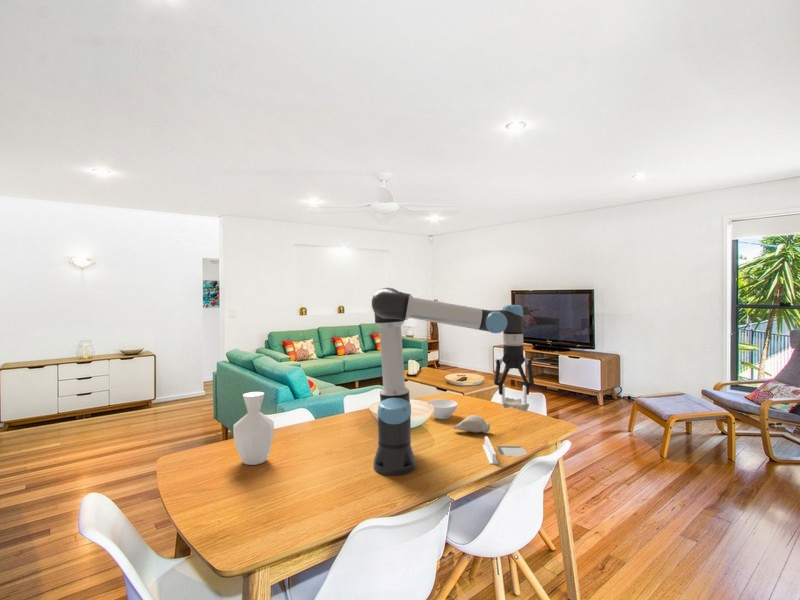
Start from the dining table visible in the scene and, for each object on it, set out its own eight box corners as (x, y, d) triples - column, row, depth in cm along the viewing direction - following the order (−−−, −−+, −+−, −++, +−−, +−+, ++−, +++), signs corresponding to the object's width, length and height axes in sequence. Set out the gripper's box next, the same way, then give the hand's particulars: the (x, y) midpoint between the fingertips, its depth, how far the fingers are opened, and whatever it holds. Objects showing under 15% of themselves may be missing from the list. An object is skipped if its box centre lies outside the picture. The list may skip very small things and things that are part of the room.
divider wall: (490, 464, 143) (490, 453, 143) (482, 446, 161) (482, 436, 161) (498, 464, 143) (498, 453, 143) (489, 446, 161) (489, 436, 161)
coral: (526, 411, 147) (527, 399, 148) (499, 407, 154) (501, 395, 155) (531, 412, 151) (532, 400, 152) (505, 407, 158) (506, 396, 159)
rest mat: (502, 458, 149) (502, 457, 149) (496, 446, 161) (496, 445, 161) (534, 458, 148) (534, 458, 148) (526, 446, 160) (526, 446, 160)
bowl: (441, 410, 212) (441, 397, 212) (464, 417, 200) (464, 403, 200) (419, 416, 202) (419, 402, 202) (442, 424, 190) (442, 409, 189)
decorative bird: (490, 434, 171) (491, 417, 173) (453, 428, 174) (455, 410, 176) (488, 435, 179) (490, 418, 181) (453, 429, 182) (455, 412, 184)
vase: (281, 455, 153) (281, 390, 153) (258, 470, 139) (258, 400, 139) (249, 451, 157) (249, 388, 156) (224, 466, 143) (224, 397, 143)
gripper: (488, 345, 151) (488, 405, 151) (542, 345, 150) (543, 405, 150) (485, 343, 158) (485, 400, 158) (537, 343, 157) (537, 400, 157)
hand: (513, 402), depth 154 cm, fingers closed on coral, 8 cm apart
